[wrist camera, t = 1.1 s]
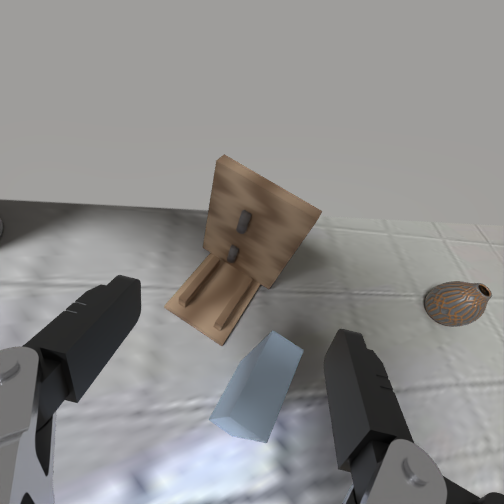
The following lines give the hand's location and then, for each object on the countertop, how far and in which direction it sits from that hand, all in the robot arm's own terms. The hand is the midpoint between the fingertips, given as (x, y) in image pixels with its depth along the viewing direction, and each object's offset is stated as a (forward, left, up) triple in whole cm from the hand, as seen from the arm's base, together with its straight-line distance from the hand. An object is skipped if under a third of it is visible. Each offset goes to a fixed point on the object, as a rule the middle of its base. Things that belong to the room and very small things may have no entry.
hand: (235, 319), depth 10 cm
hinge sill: (-4, +11, -23) cm, 26 cm away
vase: (+29, +31, -24) cm, 48 cm away
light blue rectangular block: (+5, +2, -24) cm, 24 cm away
